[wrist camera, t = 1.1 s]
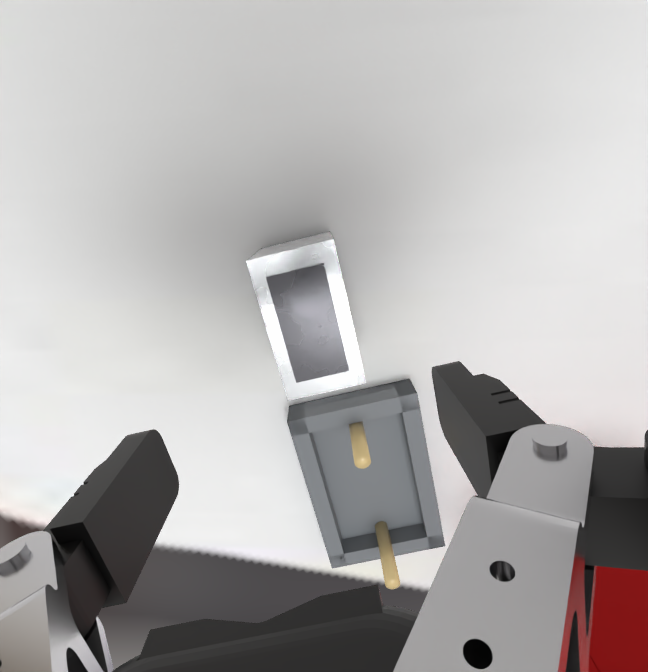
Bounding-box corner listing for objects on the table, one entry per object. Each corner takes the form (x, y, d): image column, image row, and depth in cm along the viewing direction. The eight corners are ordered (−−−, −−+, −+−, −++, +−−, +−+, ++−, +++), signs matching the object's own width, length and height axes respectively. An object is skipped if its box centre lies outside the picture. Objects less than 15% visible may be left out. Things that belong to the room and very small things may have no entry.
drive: (329, 231, 25) (334, 239, 19) (356, 346, 28) (366, 383, 22) (261, 248, 25) (245, 261, 20) (293, 360, 28) (287, 401, 22)
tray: (409, 379, 28) (432, 421, 23) (436, 524, 32) (461, 589, 27) (289, 406, 29) (282, 453, 23) (331, 545, 33) (334, 613, 27)
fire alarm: (473, 504, 32) (599, 744, 18) (603, 448, 31) (853, 660, 16) (539, 628, 37) (680, 898, 22) (654, 585, 35) (884, 843, 21)
